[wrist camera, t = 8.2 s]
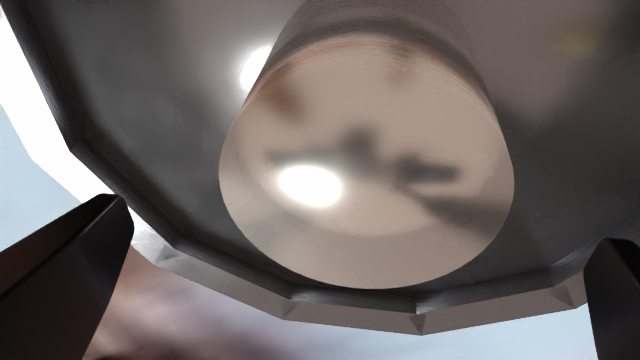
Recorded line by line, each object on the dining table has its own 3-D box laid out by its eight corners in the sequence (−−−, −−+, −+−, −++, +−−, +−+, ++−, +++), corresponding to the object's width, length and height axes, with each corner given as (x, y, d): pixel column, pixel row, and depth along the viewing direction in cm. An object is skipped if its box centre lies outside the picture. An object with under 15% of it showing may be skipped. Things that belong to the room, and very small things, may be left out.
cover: (502, -19, 11) (561, 76, 7) (455, 172, 15) (475, 301, 11) (261, -27, 11) (194, 56, 8) (277, 159, 15) (237, 275, 11)
